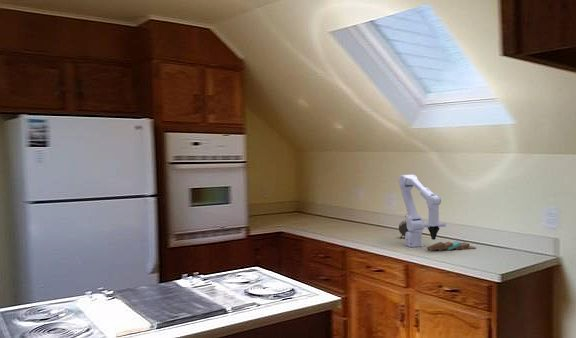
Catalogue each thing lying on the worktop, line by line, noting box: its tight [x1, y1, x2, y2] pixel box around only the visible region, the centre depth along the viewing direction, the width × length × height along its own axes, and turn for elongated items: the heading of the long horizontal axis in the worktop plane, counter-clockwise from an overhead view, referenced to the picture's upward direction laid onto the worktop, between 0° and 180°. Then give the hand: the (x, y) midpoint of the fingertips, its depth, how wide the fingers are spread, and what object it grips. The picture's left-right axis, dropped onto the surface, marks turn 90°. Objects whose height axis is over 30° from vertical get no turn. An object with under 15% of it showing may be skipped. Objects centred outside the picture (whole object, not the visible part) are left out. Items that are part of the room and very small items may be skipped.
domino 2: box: [435, 241, 453, 252], centre depth 294 cm, size 2×5×9 cm
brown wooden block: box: [426, 241, 446, 252], centre depth 294 cm, size 2×5×9 cm
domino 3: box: [452, 241, 471, 251], centre depth 297 cm, size 2×5×9 cm
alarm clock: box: [398, 213, 409, 239], centre depth 332 cm, size 11×5×16 cm, turn 90°
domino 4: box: [461, 245, 477, 251], centre depth 298 cm, size 2×5×9 cm
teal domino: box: [445, 240, 462, 251], centre depth 296 cm, size 2×5×9 cm
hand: (433, 239), depth 293 cm, fingers closed
